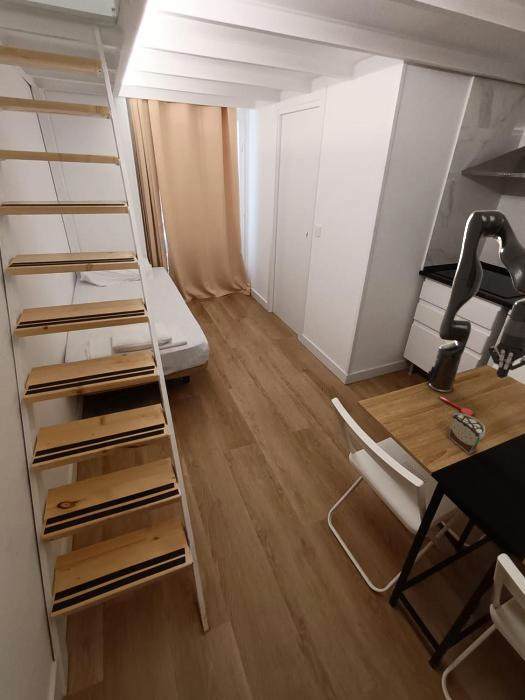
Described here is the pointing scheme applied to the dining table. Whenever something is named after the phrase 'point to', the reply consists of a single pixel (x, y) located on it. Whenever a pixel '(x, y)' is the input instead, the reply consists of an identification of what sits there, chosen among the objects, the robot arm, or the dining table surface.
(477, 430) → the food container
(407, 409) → the dining table surface
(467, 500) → the dining table surface
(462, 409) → the spoon
